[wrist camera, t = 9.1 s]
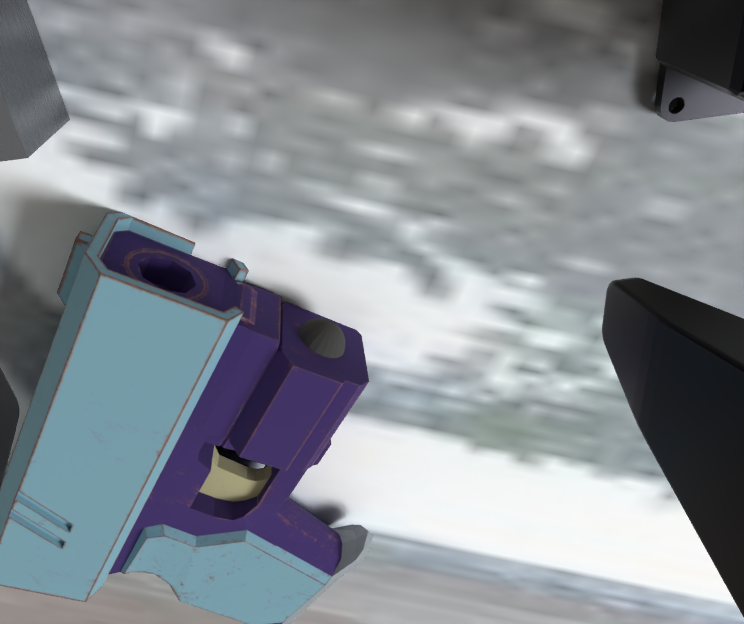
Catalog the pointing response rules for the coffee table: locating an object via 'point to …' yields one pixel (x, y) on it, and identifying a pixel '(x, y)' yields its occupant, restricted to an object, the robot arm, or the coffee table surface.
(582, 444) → the coffee table surface
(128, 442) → the pistol
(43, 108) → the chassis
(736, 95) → the robot arm
